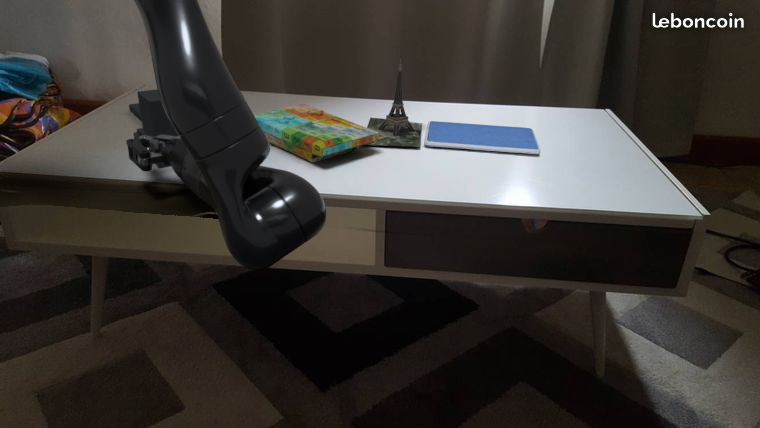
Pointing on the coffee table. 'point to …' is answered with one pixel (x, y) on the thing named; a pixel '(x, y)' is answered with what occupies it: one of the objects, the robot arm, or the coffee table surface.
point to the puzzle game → (313, 132)
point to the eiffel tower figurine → (396, 123)
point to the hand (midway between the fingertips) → (170, 130)
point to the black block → (154, 117)
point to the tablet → (481, 137)
